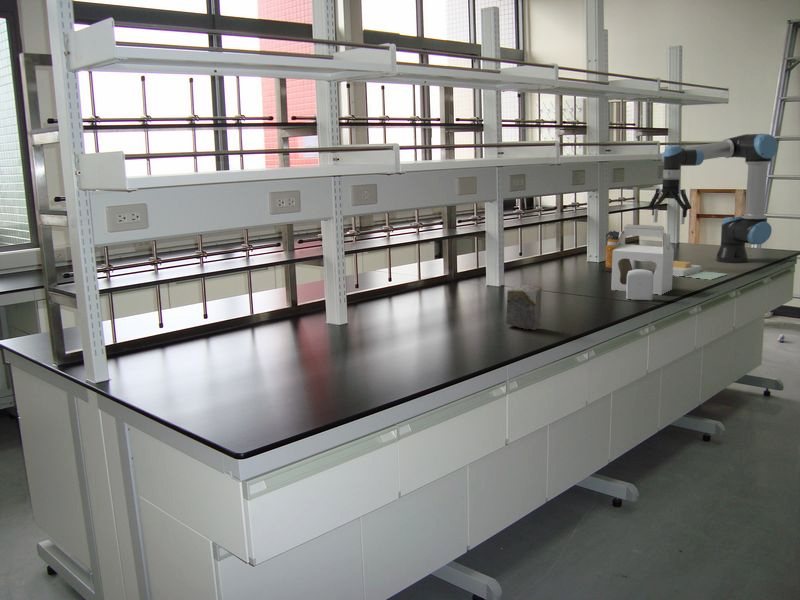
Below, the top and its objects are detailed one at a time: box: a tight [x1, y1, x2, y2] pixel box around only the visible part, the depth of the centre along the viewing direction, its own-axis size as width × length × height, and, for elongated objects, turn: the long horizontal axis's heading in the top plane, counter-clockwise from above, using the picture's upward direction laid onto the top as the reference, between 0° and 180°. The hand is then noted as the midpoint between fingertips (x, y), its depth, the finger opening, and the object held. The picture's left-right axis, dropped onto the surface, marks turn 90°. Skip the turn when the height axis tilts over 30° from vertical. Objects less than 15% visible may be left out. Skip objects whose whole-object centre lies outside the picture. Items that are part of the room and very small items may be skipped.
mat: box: [684, 270, 728, 281], centre depth 343 cm, size 18×12×1 cm, turn 133°
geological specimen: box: [505, 284, 542, 331], centre depth 254 cm, size 11×6×15 cm, turn 56°
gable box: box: [610, 224, 675, 296], centre depth 312 cm, size 22×13×28 cm, turn 52°
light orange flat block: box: [673, 260, 692, 268], centre depth 353 cm, size 9×6×2 cm, turn 43°
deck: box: [654, 264, 702, 277], centre depth 353 cm, size 18×14×3 cm
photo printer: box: [625, 268, 654, 301], centre depth 295 cm, size 10×4×12 cm, turn 72°
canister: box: [604, 230, 620, 273], centre depth 360 cm, size 9×11×20 cm
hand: (668, 223), depth 354 cm, fingers open, 13 cm apart
